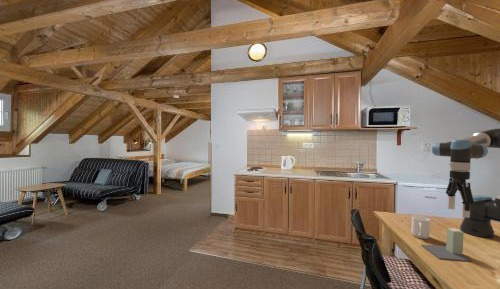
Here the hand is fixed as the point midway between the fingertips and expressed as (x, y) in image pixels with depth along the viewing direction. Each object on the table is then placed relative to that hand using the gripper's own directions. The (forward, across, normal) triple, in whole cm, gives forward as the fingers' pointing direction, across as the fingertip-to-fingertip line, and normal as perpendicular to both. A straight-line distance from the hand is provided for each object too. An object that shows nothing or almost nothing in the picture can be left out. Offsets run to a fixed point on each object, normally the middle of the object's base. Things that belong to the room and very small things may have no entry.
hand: (457, 212), depth 116 cm
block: (+20, 0, -1) cm, 20 cm away
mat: (+20, +2, -6) cm, 21 cm away
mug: (+21, -16, -10) cm, 28 cm away
